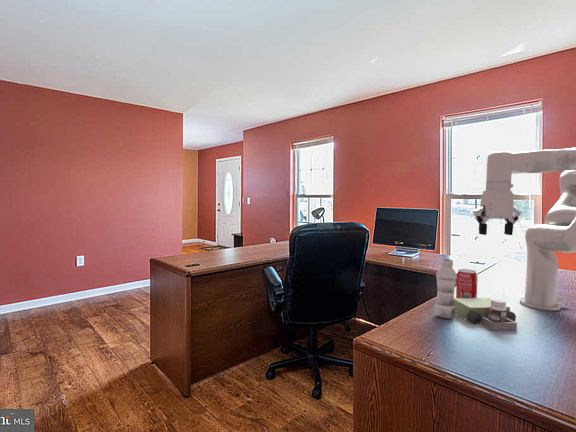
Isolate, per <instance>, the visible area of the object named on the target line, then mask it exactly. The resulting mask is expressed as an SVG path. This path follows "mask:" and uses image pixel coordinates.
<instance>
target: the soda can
mask: <svg viewBox="0 0 576 432" xmlns="http://www.w3.org/2000/svg"><path fill="white" fill-rule="evenodd" d="M456 275H457V279H456V284H455V288H456V289H455V298H478V297H477V296H478V275H477V270H473V269H469V268H467V269H466V268H462V269H461V268H460V269H458V271H457V273H456Z"/></svg>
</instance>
